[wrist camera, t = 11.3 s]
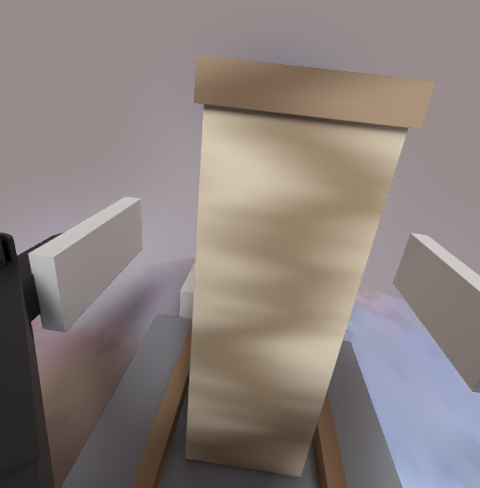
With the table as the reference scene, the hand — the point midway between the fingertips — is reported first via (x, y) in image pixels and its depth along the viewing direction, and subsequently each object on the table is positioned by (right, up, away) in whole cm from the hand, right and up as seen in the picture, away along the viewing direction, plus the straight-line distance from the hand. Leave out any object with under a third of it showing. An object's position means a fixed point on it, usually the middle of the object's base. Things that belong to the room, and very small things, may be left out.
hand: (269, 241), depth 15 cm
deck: (-2, -14, -4) cm, 14 cm away
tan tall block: (-1, -8, +2) cm, 8 cm away
